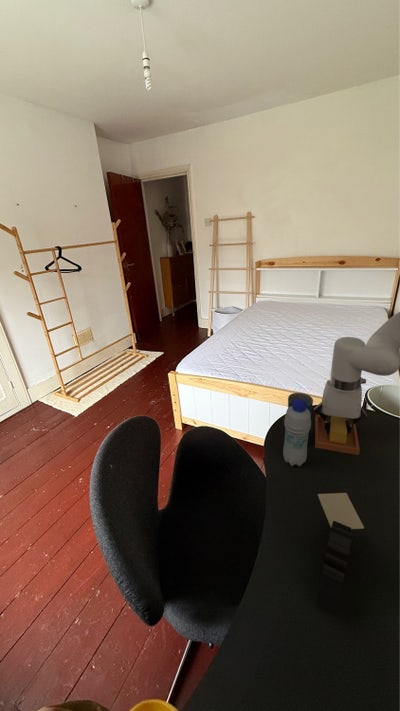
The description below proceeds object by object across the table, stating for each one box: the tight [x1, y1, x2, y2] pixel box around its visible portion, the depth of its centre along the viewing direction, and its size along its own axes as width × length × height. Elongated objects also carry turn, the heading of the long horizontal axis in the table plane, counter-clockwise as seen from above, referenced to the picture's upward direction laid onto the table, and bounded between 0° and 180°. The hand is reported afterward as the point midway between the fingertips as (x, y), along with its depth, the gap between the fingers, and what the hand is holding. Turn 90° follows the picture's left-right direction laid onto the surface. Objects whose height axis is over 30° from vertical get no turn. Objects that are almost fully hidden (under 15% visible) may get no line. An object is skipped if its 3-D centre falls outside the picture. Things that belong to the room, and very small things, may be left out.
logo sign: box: [314, 520, 353, 619], centre depth 56 cm, size 18×4×11 cm, turn 149°
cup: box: [287, 392, 314, 414], centre depth 87 cm, size 7×7×15 cm
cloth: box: [317, 492, 365, 530], centre depth 69 cm, size 7×9×1 cm
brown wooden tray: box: [314, 414, 361, 456], centre depth 91 cm, size 14×12×2 cm
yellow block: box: [329, 416, 347, 444], centre depth 90 cm, size 8×4×4 cm, turn 160°
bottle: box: [282, 400, 312, 467], centre depth 79 cm, size 7×7×20 cm
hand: (336, 432), depth 90 cm, fingers closed on yellow block, 4 cm apart
